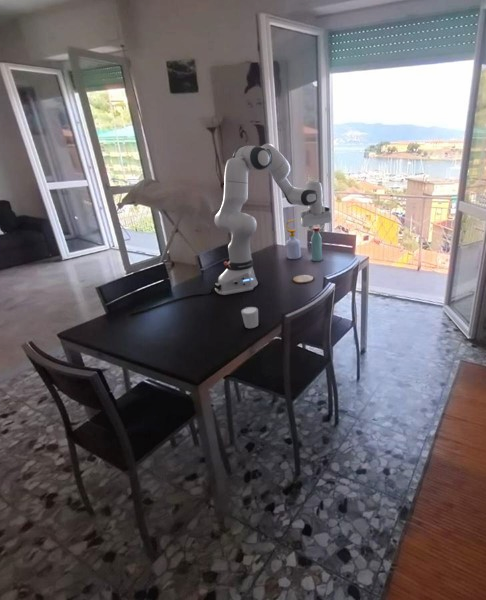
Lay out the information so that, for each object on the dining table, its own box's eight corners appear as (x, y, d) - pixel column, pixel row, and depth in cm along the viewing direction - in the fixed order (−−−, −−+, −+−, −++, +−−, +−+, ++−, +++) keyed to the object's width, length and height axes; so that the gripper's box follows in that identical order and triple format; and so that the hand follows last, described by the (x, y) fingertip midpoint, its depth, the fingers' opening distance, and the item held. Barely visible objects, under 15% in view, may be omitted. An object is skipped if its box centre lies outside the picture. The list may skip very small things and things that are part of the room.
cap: (316, 231, 216) (316, 228, 215) (311, 230, 219) (311, 227, 218) (321, 230, 219) (321, 227, 218) (316, 229, 222) (316, 226, 221)
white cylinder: (253, 319, 154) (250, 305, 151) (263, 324, 150) (261, 309, 147) (240, 325, 149) (237, 311, 146) (250, 330, 145) (248, 315, 142)
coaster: (299, 285, 188) (299, 283, 188) (289, 279, 197) (289, 277, 196) (317, 280, 194) (317, 278, 194) (307, 274, 202) (307, 273, 202)
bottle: (315, 261, 222) (314, 230, 214) (310, 259, 227) (309, 228, 219) (323, 259, 225) (323, 229, 218) (318, 257, 230) (317, 227, 223)
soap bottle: (300, 259, 228) (297, 221, 218) (286, 259, 228) (282, 221, 218) (301, 254, 236) (299, 217, 226) (288, 255, 237) (285, 218, 226)
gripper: (303, 212, 206) (304, 235, 211) (332, 207, 216) (333, 230, 222) (298, 210, 210) (299, 233, 216) (327, 206, 221) (327, 228, 226)
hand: (317, 231), depth 219 cm, fingers open, 5 cm apart
